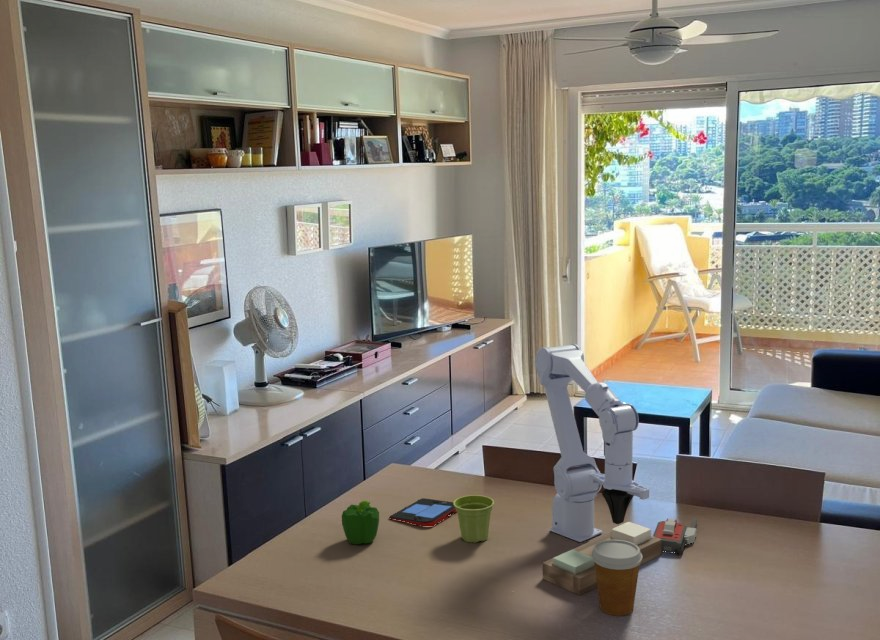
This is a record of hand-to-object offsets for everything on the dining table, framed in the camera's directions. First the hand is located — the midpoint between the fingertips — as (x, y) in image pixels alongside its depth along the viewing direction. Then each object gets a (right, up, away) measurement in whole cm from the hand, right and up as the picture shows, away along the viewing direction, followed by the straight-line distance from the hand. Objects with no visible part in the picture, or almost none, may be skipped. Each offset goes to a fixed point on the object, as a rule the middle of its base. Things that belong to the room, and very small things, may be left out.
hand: (618, 522), depth 184 cm
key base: (-4, -9, -2) cm, 10 cm away
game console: (-42, -6, +30) cm, 52 cm away
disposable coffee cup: (-4, -12, -20) cm, 23 cm away
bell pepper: (-56, -8, +15) cm, 59 cm away
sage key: (-11, -8, -8) cm, 16 cm away
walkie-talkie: (+16, -7, +12) cm, 21 cm away
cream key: (+4, -5, +4) cm, 7 cm away
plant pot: (-30, -7, +15) cm, 34 cm away
